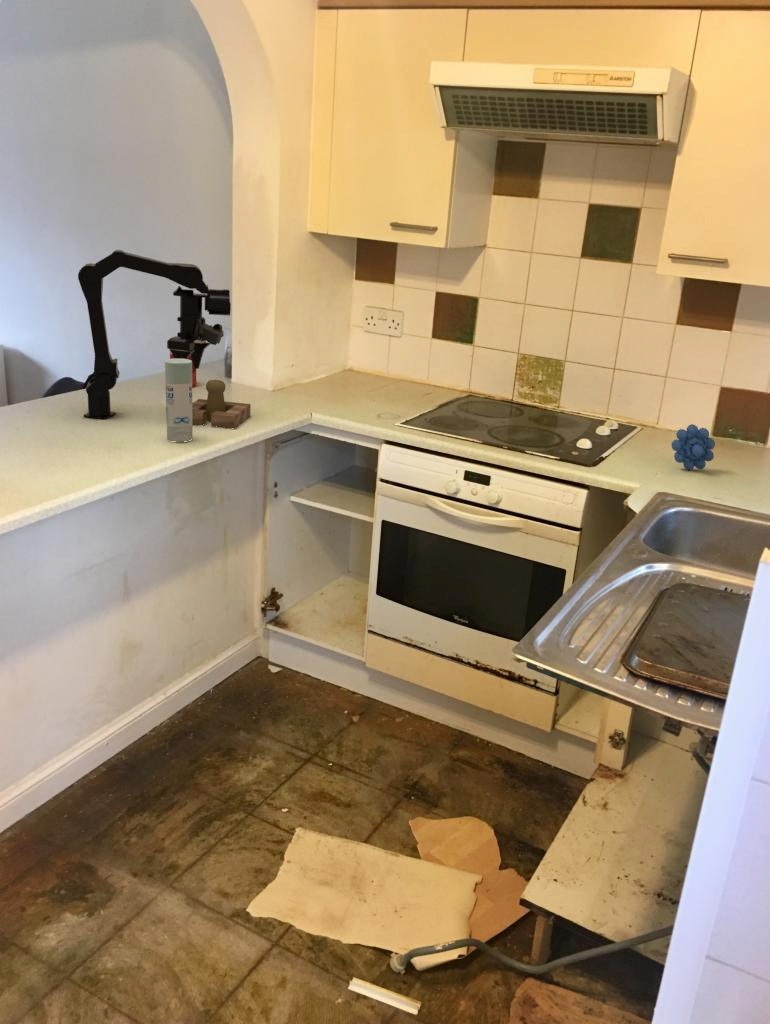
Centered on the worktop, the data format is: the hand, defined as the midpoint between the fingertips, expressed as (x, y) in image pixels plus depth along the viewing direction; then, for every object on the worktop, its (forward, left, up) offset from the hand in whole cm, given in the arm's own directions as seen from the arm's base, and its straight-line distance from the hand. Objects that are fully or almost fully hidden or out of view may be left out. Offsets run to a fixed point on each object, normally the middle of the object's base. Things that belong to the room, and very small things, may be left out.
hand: (190, 371), depth 237 cm
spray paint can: (-23, -6, -13) cm, 27 cm away
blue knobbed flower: (-3, -135, -13) cm, 135 cm away
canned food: (+35, +15, -13) cm, 40 cm away
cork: (-1, -7, -13) cm, 15 cm away
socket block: (-1, -8, -13) cm, 15 cm away
